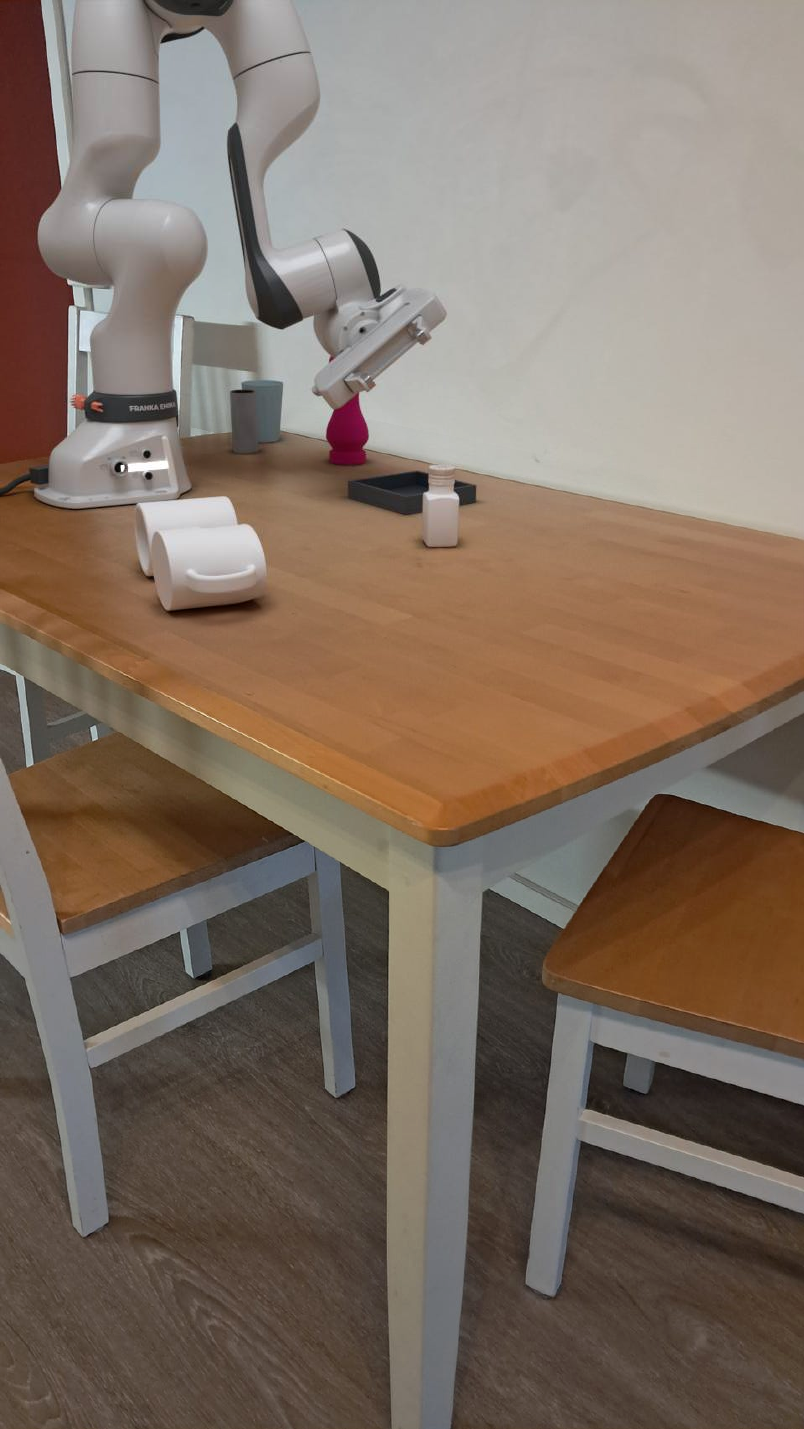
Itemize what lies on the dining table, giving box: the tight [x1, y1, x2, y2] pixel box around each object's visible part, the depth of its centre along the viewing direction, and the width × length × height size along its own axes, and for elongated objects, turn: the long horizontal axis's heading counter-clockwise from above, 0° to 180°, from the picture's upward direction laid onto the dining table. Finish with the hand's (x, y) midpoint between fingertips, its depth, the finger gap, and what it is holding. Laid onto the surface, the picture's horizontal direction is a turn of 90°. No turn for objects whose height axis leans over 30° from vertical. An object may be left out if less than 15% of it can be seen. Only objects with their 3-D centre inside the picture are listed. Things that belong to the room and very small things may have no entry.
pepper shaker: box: [421, 464, 460, 548], centre depth 130 cm, size 4×4×10 cm
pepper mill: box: [325, 355, 370, 466], centre depth 177 cm, size 7×7×20 cm
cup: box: [240, 379, 284, 444], centre depth 197 cm, size 8×8×10 cm
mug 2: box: [151, 523, 268, 611], centre depth 107 cm, size 12×9×8 cm
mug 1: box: [133, 495, 239, 577], centre depth 120 cm, size 12×10×8 cm
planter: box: [229, 389, 260, 455], centre depth 186 cm, size 4×4×10 cm
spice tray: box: [347, 470, 478, 516], centre depth 154 cm, size 13×13×2 cm
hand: (396, 360), depth 139 cm, fingers open, 8 cm apart
